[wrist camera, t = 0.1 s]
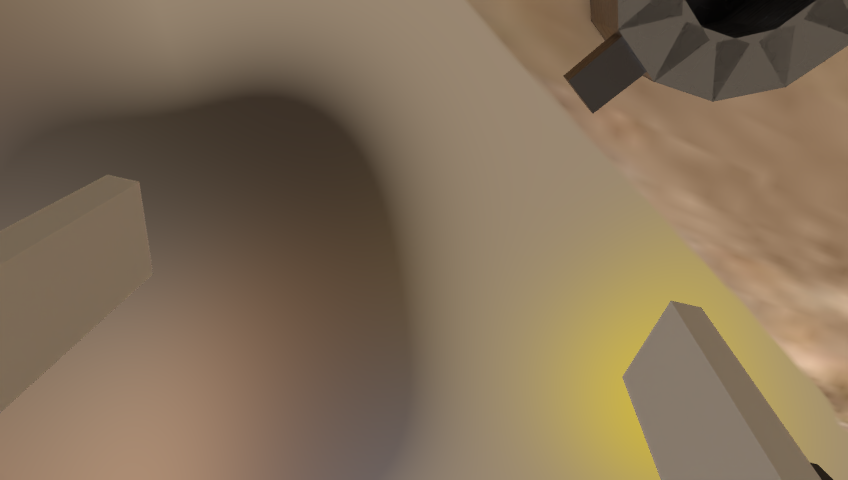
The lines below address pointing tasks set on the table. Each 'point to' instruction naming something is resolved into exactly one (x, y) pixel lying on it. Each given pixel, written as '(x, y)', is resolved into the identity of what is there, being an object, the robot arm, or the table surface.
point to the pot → (707, 45)
